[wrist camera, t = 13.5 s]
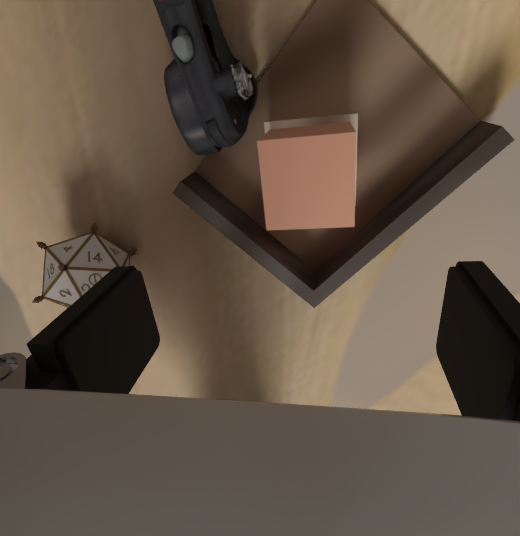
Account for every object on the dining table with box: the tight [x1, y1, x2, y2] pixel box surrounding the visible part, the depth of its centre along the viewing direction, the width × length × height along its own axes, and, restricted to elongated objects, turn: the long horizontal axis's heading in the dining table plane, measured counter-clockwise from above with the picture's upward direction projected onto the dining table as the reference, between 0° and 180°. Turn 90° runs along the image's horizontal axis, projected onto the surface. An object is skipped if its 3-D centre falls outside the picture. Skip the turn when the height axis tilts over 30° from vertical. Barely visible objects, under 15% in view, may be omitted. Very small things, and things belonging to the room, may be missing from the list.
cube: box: [257, 122, 356, 230], centre depth 25 cm, size 6×6×6 cm
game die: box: [33, 223, 137, 307], centre depth 32 cm, size 9×8×10 cm
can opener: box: [153, 0, 258, 155], centre depth 22 cm, size 18×7×6 cm, turn 16°
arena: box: [173, 0, 514, 308], centre depth 26 cm, size 15×18×4 cm
